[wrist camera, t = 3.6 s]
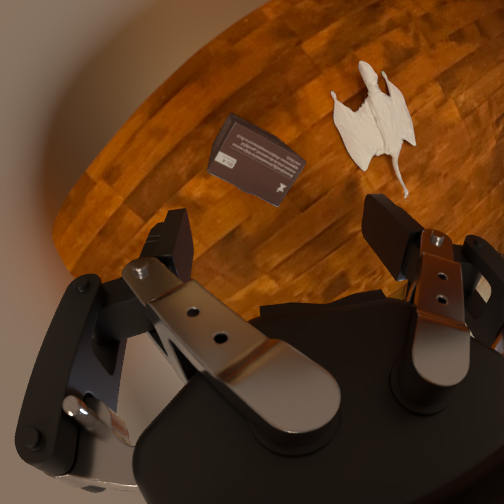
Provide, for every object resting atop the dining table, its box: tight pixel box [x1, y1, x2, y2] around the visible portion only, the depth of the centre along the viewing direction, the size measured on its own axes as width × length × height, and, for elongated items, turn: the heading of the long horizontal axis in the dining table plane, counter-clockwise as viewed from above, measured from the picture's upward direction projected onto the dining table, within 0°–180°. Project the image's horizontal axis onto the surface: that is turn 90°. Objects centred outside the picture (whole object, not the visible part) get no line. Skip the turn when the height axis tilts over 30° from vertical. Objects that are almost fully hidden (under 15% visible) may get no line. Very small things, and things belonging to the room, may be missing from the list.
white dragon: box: [331, 61, 416, 200], centre depth 27 cm, size 18×10×4 cm, turn 29°
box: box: [207, 113, 306, 207], centre depth 24 cm, size 6×4×12 cm
